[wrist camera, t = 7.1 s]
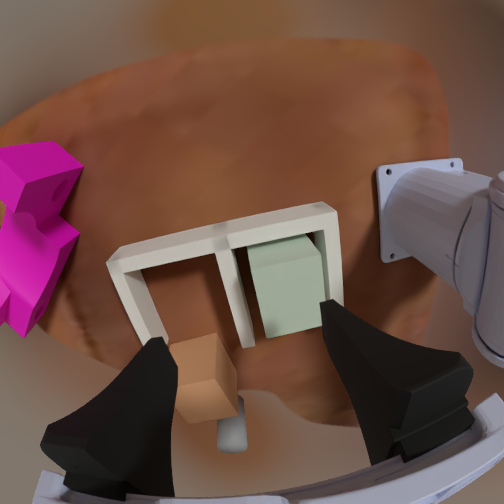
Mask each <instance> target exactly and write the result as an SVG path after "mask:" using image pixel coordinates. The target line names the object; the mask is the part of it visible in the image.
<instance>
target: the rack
mask: <svg viewBox="0 0 504 504" xmlns="http://www.w3.org/2000/svg"><path fill="white" fill-rule="evenodd" d="M309 232H313V233H314V241H315V247H316V248H317V250H318V251H319V252H320V254H321V259H322V269H323V279H324V290H325V301H326V300H330V299H334V300H335V301H336V302H338V303H339V304H340V305H342V306H343V307H344V299H343V279H342V263H341V250H340V238H339V227H338V218H337V211H336V210H334V209H333V208H331V207H330V206H329V205H327V204H326V203H324V202H323V201H321V202H316V203H311V204H306V205H301V206H296V207H291V208H286V209H281V210H276V211H271V212H266V213H262V214H257V215H252V216H248V217H243V218H238V219H234V220H229V221H225V222H220V223H216V224H212V225H207V226H203V227H198V228H194V229H190V230H186V231H182V232H177V233H173V234H169V235H165V236H161V237H157V238H153V239H149V240H145V241H141V242H137V243H133V244H129V245H125V246H121V247H119V249H118V250H117V251H116V252H115V253H114V254H113V255H112V256H111V257H110V259H109V260H108V261H107V262H106V265H107V267H108V270H109V272H110V275H111V277H112V280H113V282H114V284H115V287H116V289H117V292H118V294H119V296H120V298H121V301H122V303H123V305H124V307H125V309H126V312H127V314H128V316H129V318H130V320H131V322H132V324H133V326H134V328H135V330H136V332H137V334H138V336H139V338H140V340H141V342H142V344H143V346H144V345H145V344H146V342H147V341H148V340H149V339H150V338H154V337H160V336H162V337H163V339H164V341H165V343H166V345H167V343H168V339H169V338H168V335H167V333H166V331H165V329H164V326H163V324H162V322H161V320H160V317H159V315H158V313H157V310H156V308H155V305H154V303H153V301H152V298H151V296H150V293H149V291H148V288H147V286H146V283H145V281H144V278H143V275H142V273H141V270H140V269H144V268H148V267H153V266H157V265H162V264H166V263H171V262H175V261H180V260H184V259H189V258H193V257H198V256H202V255H207V254H211V253H215V255H216V258H217V262H218V266H219V269H220V273H221V276H222V280H223V284H224V287H225V291H226V294H227V298H228V301H229V305H230V308H231V312H232V315H233V318H234V322H235V325H236V329H237V332H238V335H239V339H240V342H241V345H242V348H247V347H253V346H255V339H254V332H253V324H252V320H251V316H250V312H249V308H248V304H247V300H246V296H245V292H244V288H243V284H242V280H241V276H240V272H239V268H238V264H237V259H236V255H235V251H234V248H239V247H243V246H248V245H253V244H257V243H262V242H267V241H271V240H276V239H281V238H285V237H290V236H295V235H299V234H304V233H309Z"/></svg>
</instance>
